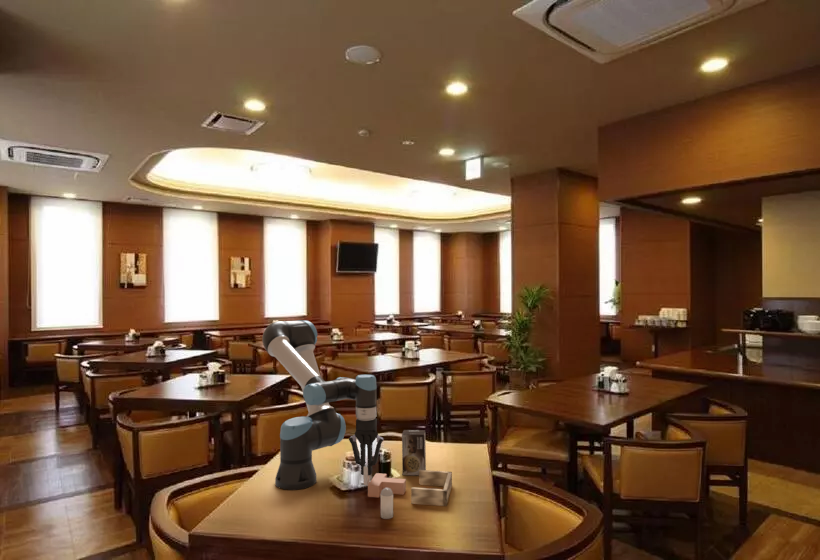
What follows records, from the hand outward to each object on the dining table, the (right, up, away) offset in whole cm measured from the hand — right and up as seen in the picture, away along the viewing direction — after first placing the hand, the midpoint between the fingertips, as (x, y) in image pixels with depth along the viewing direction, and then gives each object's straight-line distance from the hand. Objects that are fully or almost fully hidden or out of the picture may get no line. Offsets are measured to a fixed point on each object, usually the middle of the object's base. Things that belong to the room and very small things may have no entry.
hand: (366, 483), depth 182 cm
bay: (+24, -2, -4) cm, 24 cm away
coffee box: (+17, -3, +17) cm, 25 cm away
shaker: (+8, -2, -22) cm, 23 cm away
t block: (+8, -2, -1) cm, 8 cm away
